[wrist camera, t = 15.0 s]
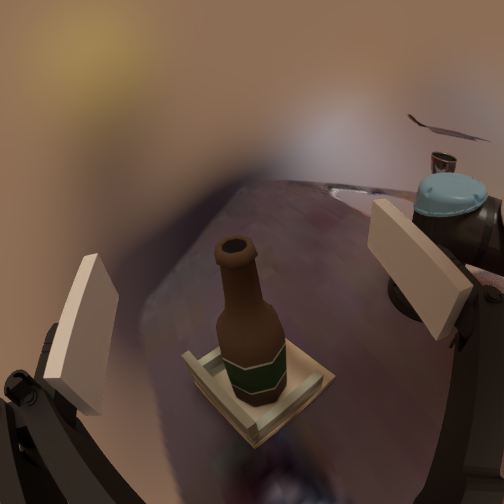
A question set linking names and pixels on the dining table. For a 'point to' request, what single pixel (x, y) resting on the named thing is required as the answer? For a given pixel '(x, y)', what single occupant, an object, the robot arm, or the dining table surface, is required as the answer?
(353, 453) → the dining table surface
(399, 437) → the dining table surface
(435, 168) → the wine glass
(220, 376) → the wooden display stand
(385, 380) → the dining table surface
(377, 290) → the dining table surface
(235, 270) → the beer bottle
